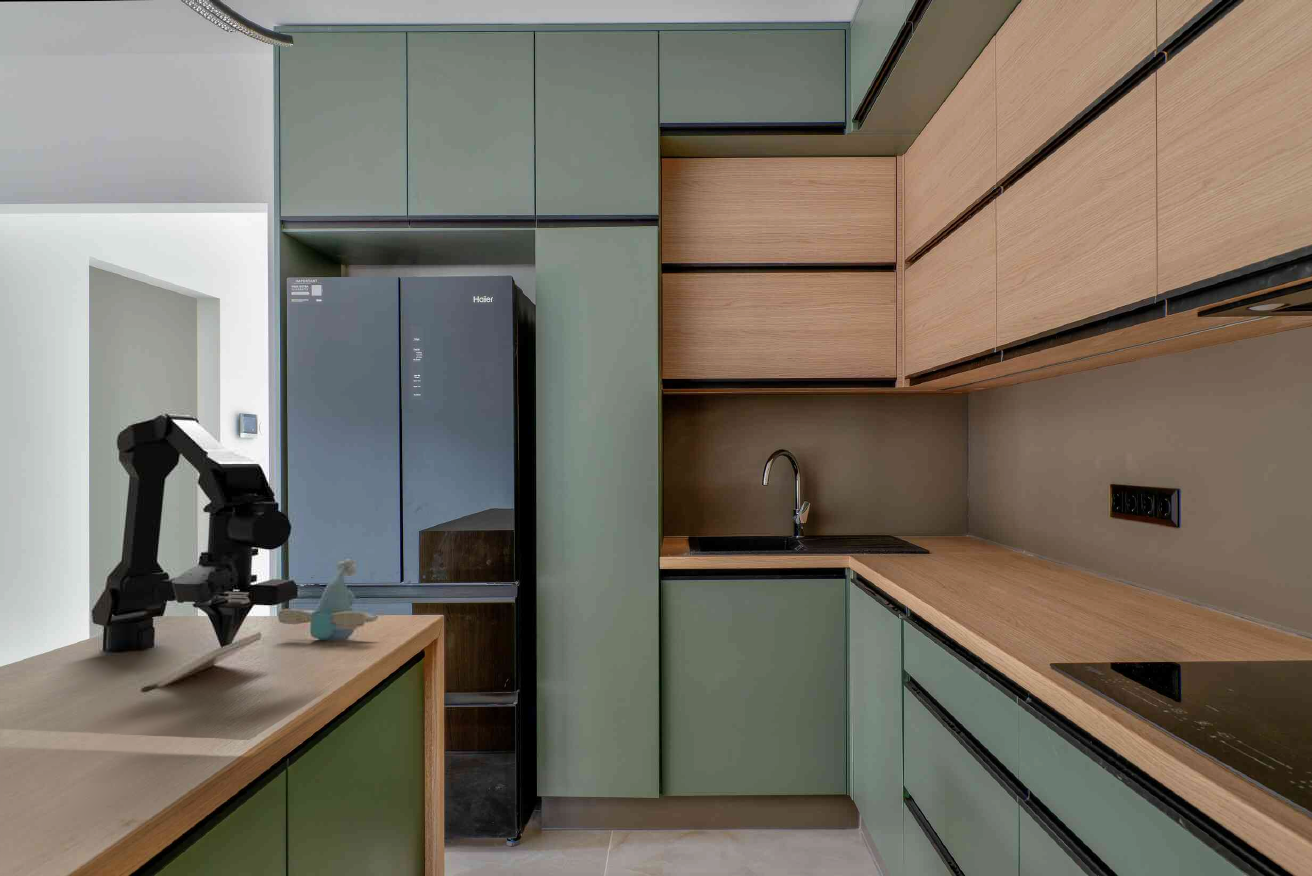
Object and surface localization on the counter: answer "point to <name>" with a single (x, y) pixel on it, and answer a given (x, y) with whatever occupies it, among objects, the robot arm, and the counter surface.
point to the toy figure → (331, 610)
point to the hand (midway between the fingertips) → (225, 647)
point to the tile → (209, 659)
